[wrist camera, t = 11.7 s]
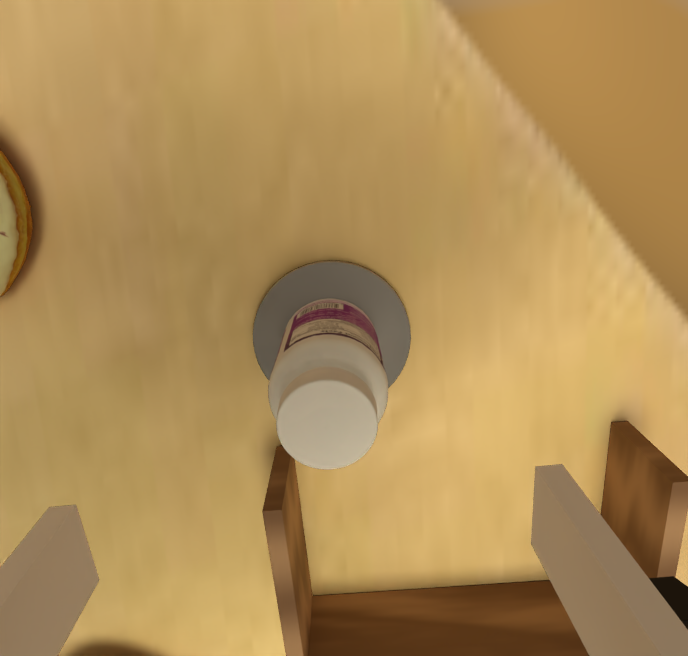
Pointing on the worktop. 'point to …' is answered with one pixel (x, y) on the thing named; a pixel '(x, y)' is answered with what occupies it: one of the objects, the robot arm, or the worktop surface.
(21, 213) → the decorated donut
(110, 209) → the worktop surface
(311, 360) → the pill bottle
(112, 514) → the worktop surface
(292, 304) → the coaster
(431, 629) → the wooden u-shaped frame
